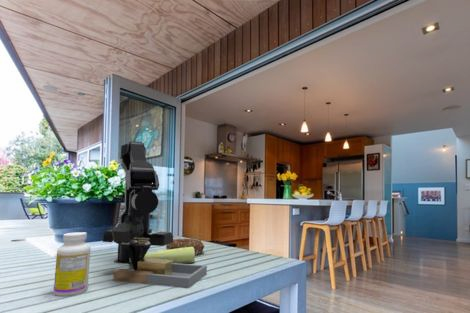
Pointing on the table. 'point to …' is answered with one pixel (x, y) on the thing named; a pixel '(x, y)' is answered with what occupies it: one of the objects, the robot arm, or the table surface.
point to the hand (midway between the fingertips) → (136, 269)
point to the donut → (186, 244)
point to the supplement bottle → (72, 265)
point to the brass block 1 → (145, 264)
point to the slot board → (131, 276)
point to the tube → (174, 255)
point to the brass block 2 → (162, 267)
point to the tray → (179, 276)
